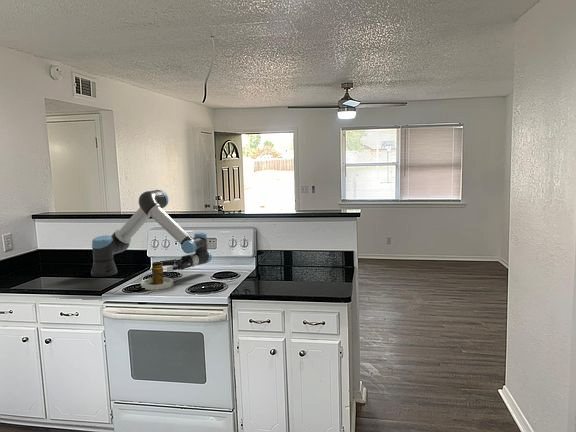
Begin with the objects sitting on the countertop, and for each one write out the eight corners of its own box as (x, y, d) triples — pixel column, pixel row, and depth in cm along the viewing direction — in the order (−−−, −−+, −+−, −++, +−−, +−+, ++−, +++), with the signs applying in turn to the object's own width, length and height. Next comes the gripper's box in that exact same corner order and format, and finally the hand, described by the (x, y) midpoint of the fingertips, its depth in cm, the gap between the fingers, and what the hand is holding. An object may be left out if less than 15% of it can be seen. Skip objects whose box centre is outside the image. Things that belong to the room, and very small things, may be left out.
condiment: (165, 283, 257) (164, 262, 256) (151, 286, 252) (149, 265, 251) (161, 281, 263) (160, 260, 262) (146, 283, 258) (145, 262, 257)
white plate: (148, 281, 267) (147, 277, 266) (176, 281, 265) (176, 277, 265) (136, 289, 250) (136, 285, 250) (166, 289, 249) (166, 285, 248)
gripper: (203, 269, 267) (174, 277, 251) (176, 264, 283) (146, 271, 266) (203, 257, 266) (173, 264, 250) (175, 252, 282) (146, 258, 265)
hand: (159, 268), depth 258 cm, fingers open, 13 cm apart
